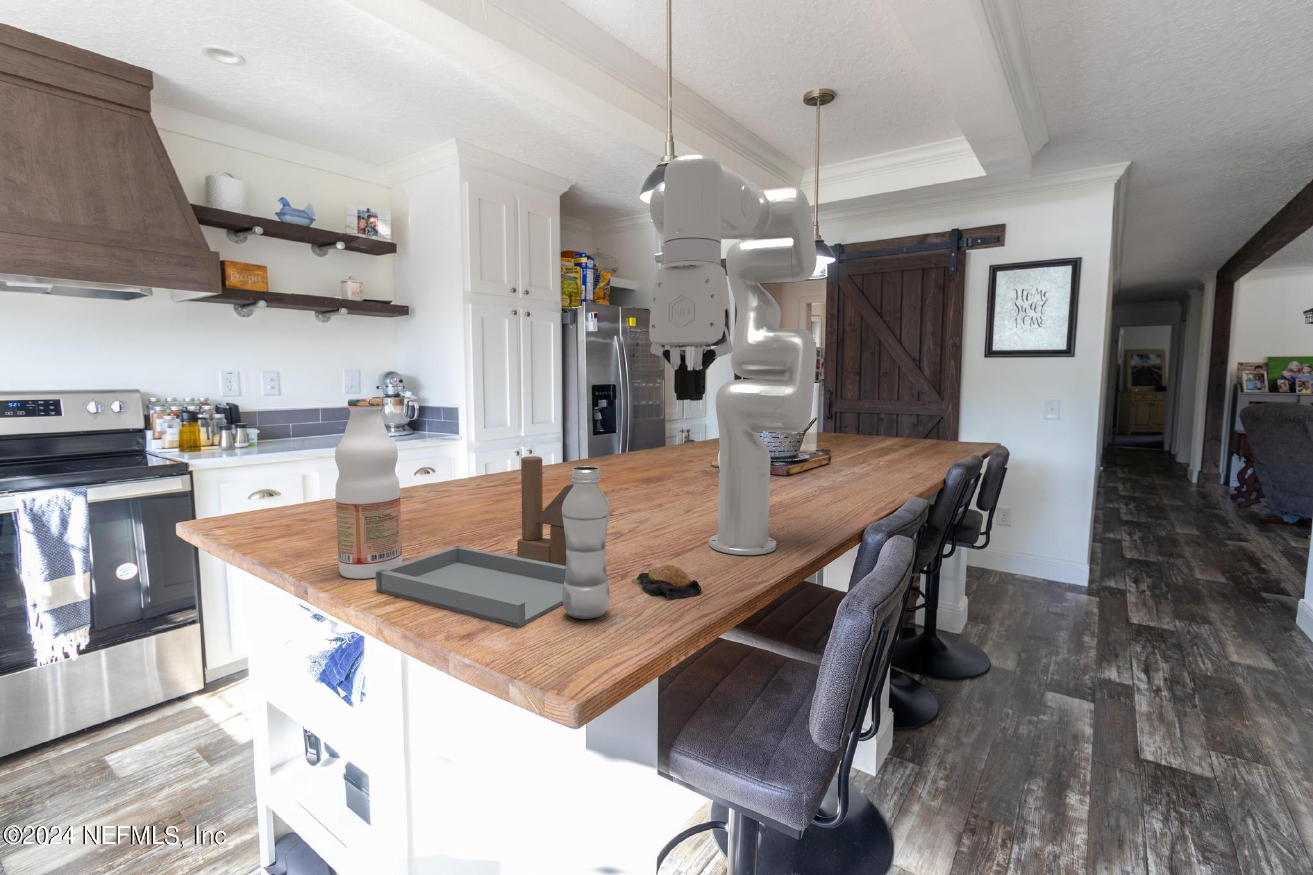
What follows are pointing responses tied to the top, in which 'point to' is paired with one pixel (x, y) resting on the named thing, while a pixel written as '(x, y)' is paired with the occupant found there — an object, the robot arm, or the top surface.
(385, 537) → the fruit juice
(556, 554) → the toy block structure
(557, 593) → the tray
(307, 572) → the top surface
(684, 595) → the bread roll
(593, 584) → the plastic bottle
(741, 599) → the top surface
